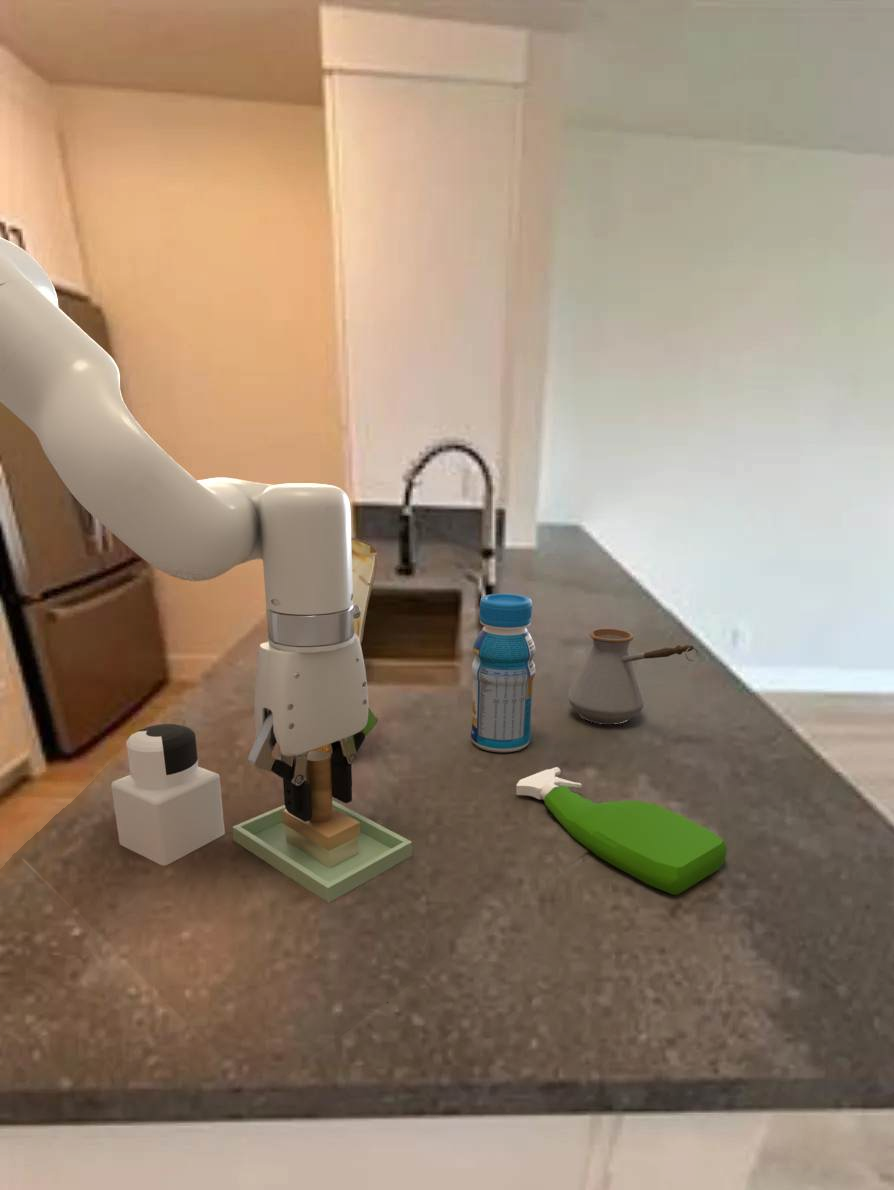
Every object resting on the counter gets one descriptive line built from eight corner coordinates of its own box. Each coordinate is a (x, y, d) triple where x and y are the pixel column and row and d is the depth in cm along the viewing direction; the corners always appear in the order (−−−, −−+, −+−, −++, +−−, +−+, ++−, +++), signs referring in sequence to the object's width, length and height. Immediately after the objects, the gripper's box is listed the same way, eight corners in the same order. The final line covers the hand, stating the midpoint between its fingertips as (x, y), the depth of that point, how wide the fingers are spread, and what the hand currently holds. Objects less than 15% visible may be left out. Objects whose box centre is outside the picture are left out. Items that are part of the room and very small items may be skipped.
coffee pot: (551, 710, 111) (557, 615, 106) (607, 697, 117) (615, 607, 113) (651, 763, 94) (663, 653, 90) (711, 745, 100) (725, 641, 96)
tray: (233, 843, 73) (232, 826, 72) (316, 806, 81) (315, 791, 80) (328, 906, 64) (327, 888, 63) (412, 858, 72) (412, 841, 71)
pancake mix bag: (330, 715, 106) (322, 521, 97) (385, 765, 91) (382, 541, 82) (284, 723, 102) (272, 523, 94) (334, 777, 87) (325, 544, 79)
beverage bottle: (493, 760, 93) (499, 609, 87) (457, 737, 100) (460, 595, 94) (544, 745, 98) (552, 601, 92) (506, 725, 105) (512, 589, 99)
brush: (283, 841, 73) (277, 750, 70) (314, 826, 76) (310, 738, 73) (329, 869, 69) (325, 774, 65) (361, 853, 71) (358, 761, 68)
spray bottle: (668, 905, 66) (494, 802, 83) (735, 863, 73) (561, 776, 90) (671, 876, 65) (495, 779, 83) (739, 837, 72) (563, 755, 89)
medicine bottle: (181, 816, 78) (169, 712, 74) (226, 836, 74) (216, 728, 70) (118, 846, 72) (102, 735, 68) (164, 869, 68) (150, 753, 65)
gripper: (356, 604, 74) (361, 767, 79) (201, 634, 61) (220, 826, 67) (408, 617, 69) (409, 789, 75) (252, 653, 57) (267, 857, 62)
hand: (319, 805), depth 71 cm, fingers open, 4 cm apart
